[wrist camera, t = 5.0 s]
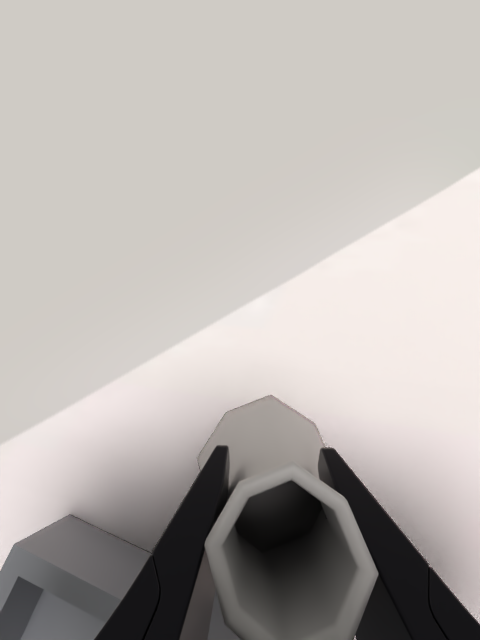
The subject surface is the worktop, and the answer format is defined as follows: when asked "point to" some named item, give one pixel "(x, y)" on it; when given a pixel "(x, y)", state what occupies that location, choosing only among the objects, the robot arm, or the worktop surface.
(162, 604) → the robot arm
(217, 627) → the box
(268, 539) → the flask
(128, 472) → the worktop surface
